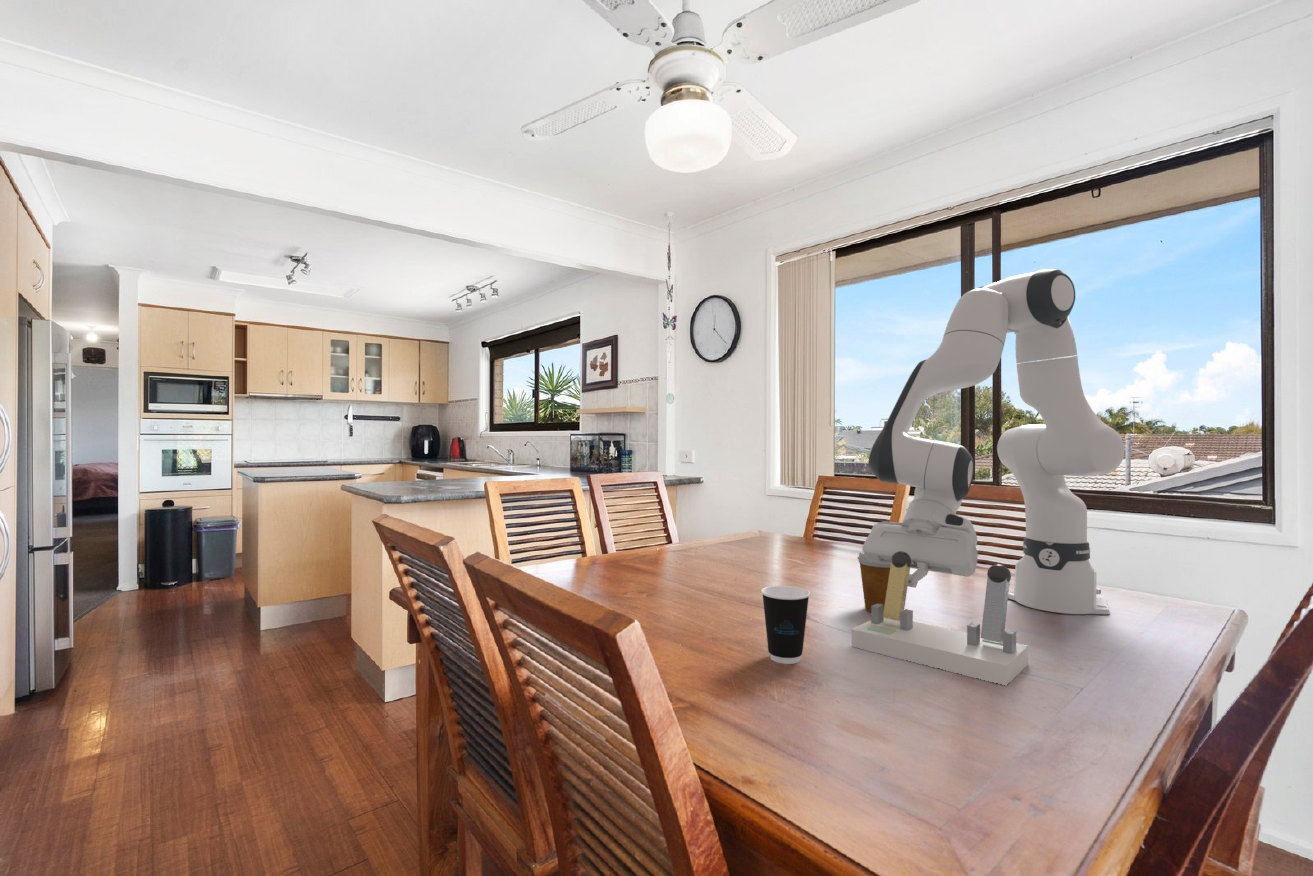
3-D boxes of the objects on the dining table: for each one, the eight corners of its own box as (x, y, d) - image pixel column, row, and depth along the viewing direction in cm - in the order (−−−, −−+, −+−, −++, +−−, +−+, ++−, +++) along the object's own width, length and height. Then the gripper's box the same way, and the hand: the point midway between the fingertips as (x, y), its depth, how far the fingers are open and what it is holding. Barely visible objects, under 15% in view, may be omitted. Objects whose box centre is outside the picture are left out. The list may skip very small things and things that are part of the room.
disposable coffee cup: (913, 617, 124) (913, 557, 124) (865, 617, 124) (865, 557, 124) (895, 604, 133) (895, 548, 133) (851, 604, 134) (851, 548, 134)
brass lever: (887, 619, 111) (897, 552, 114) (905, 623, 109) (915, 554, 112) (879, 616, 109) (889, 548, 112) (898, 620, 107) (908, 550, 110)
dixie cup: (779, 670, 96) (780, 599, 96) (751, 654, 103) (751, 588, 103) (820, 663, 99) (821, 594, 99) (790, 647, 106) (790, 583, 106)
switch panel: (881, 631, 115) (882, 598, 115) (1028, 664, 99) (1028, 626, 99) (851, 646, 107) (851, 611, 107) (1006, 686, 90) (1006, 644, 90)
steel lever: (983, 639, 100) (991, 565, 103) (1006, 644, 98) (1014, 568, 101) (977, 637, 98) (985, 560, 101) (1000, 642, 96) (1009, 563, 99)
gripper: (871, 510, 126) (847, 565, 119) (979, 520, 112) (960, 583, 105) (880, 530, 129) (858, 584, 122) (986, 542, 115) (968, 605, 108)
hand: (906, 584), depth 114 cm, fingers closed
